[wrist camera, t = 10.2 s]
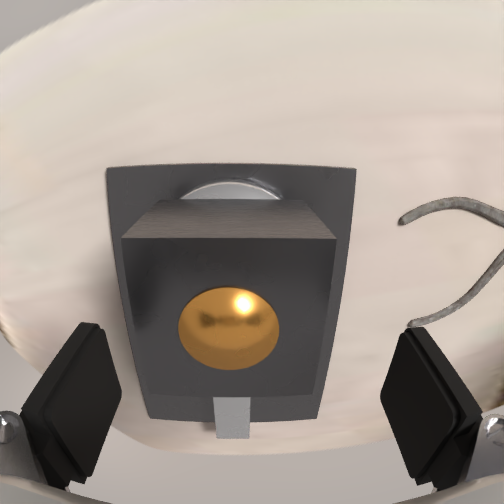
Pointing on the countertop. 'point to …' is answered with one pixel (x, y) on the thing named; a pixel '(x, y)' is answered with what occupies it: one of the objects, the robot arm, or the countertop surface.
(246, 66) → the countertop surface
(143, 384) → the lever switch plate
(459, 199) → the pliers
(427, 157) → the countertop surface
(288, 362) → the socket
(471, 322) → the countertop surface
